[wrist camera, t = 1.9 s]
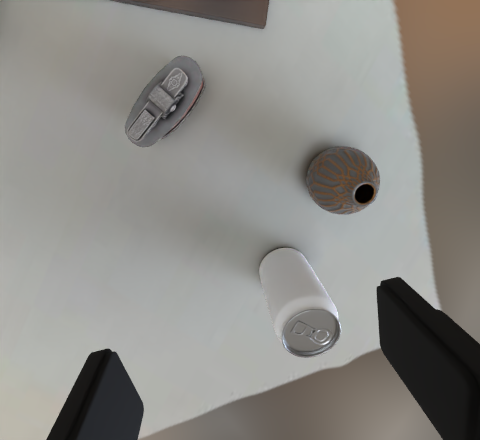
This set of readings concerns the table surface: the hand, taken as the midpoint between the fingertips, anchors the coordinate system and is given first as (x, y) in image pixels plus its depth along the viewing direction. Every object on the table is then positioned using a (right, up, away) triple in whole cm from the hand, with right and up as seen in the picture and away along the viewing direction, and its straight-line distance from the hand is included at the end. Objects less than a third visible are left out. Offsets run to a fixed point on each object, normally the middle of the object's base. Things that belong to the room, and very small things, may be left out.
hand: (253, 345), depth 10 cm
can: (+5, -2, +28) cm, 28 cm away
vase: (+10, +10, +24) cm, 28 cm away
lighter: (-7, +16, +20) cm, 27 cm away
